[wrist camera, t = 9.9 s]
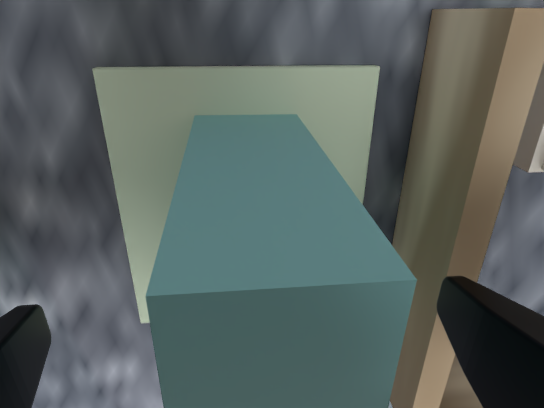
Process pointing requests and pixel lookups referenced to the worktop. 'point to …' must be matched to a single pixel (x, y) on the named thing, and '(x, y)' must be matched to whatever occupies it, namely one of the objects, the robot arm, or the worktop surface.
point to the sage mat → (218, 101)
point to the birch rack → (459, 177)
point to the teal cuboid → (272, 277)
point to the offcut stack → (533, 133)
